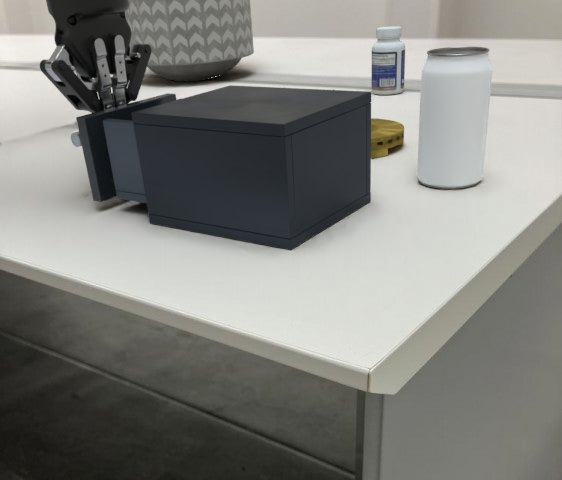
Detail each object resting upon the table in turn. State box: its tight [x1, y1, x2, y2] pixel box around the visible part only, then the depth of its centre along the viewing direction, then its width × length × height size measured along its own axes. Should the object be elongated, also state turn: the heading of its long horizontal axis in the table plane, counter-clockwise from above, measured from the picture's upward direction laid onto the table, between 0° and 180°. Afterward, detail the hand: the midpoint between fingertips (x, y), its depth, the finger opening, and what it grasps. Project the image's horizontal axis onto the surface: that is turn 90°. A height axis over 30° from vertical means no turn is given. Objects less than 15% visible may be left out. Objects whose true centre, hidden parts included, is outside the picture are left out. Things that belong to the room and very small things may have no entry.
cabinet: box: [131, 85, 372, 251], centre depth 62 cm, size 16×14×10 cm
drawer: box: [70, 92, 183, 204], centre depth 67 cm, size 20×13×8 cm, turn 56°
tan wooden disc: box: [371, 117, 405, 159], centre depth 83 cm, size 12×12×2 cm
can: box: [416, 46, 493, 190], centre depth 66 cm, size 6×6×12 cm
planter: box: [125, 0, 255, 82], centre depth 137 cm, size 25×25×24 cm
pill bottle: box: [371, 25, 406, 96], centre depth 111 cm, size 5×5×10 cm
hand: (115, 149), depth 71 cm, fingers closed
